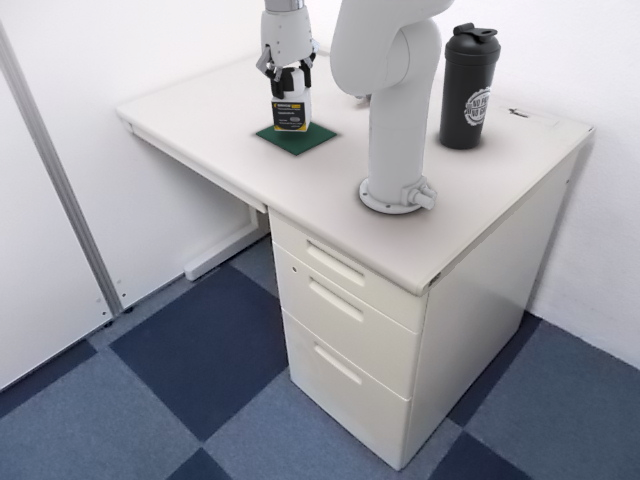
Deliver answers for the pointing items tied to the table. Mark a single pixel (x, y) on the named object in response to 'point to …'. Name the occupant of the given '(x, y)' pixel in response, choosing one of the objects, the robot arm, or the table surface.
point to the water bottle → (467, 84)
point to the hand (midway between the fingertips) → (292, 91)
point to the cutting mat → (297, 138)
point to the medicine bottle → (292, 102)
